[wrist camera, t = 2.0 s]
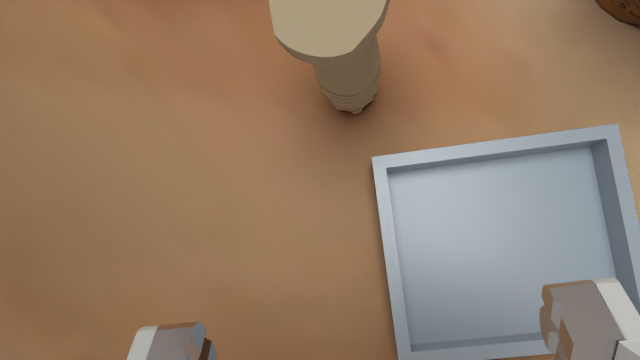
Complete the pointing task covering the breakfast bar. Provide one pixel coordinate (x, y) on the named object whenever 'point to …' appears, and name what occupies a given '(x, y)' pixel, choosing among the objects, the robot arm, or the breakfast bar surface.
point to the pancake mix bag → (622, 10)
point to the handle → (335, 44)
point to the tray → (501, 237)
